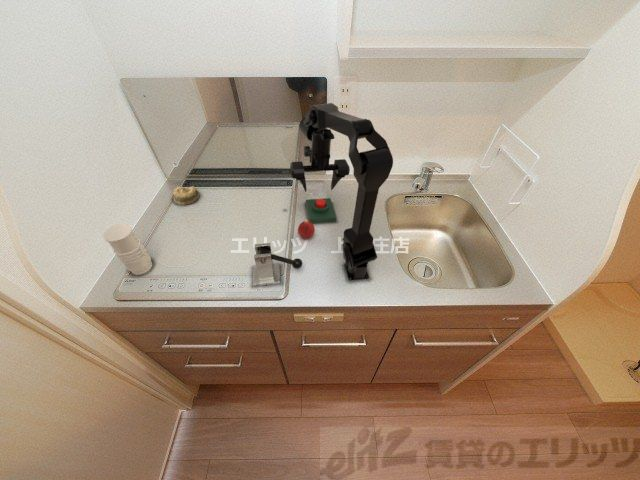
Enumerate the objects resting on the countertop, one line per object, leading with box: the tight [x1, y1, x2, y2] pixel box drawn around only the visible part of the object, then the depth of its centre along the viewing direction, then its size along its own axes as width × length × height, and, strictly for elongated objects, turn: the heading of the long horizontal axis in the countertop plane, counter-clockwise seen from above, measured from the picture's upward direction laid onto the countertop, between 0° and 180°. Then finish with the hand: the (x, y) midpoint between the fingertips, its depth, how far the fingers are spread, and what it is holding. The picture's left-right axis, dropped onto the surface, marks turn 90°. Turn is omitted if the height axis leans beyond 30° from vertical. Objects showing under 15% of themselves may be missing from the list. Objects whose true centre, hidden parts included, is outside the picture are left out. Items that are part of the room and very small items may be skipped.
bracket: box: [252, 242, 281, 287], centre depth 78 cm, size 8×7×12 cm
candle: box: [102, 223, 153, 276], centre depth 78 cm, size 7×7×15 cm
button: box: [316, 198, 326, 208], centre depth 101 cm, size 4×4×2 cm
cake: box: [172, 185, 201, 206], centre depth 106 cm, size 10×10×5 cm
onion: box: [297, 219, 316, 240], centre depth 92 cm, size 6×6×8 cm
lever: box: [257, 247, 304, 270], centre depth 78 cm, size 14×3×3 cm
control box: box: [305, 197, 337, 225], centre depth 103 cm, size 12×10×4 cm
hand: (318, 190), depth 93 cm, fingers open, 9 cm apart
